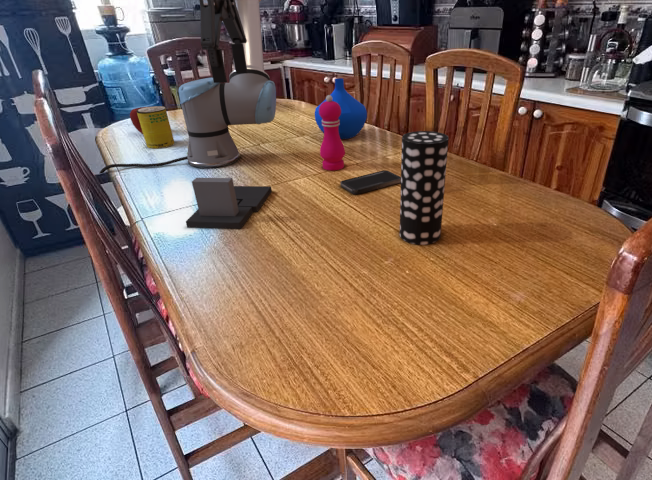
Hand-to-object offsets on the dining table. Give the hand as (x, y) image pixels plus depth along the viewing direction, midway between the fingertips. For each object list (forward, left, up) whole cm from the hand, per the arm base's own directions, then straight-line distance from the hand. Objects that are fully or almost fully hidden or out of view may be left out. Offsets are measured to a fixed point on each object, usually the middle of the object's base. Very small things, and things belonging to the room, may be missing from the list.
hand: (231, 77), depth 97 cm
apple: (-56, +50, -27) cm, 80 cm away
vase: (+18, +48, -27) cm, 58 cm away
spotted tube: (+44, -25, -27) cm, 57 cm away
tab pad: (0, -18, -27) cm, 32 cm away
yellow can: (-44, +36, -27) cm, 63 cm away
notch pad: (0, -10, -27) cm, 29 cm away
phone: (+32, +2, -27) cm, 42 cm away
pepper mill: (+20, +15, -27) cm, 37 cm away
